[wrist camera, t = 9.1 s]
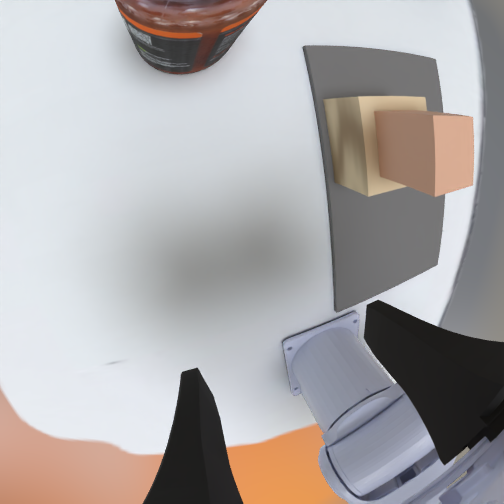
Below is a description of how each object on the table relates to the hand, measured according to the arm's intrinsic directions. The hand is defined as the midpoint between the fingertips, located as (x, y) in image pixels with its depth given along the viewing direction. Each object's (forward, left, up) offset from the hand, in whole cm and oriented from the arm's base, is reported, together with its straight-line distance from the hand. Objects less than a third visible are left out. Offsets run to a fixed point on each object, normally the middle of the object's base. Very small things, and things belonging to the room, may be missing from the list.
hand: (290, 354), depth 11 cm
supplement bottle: (+15, 0, -11) cm, 18 cm away
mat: (+2, -15, -10) cm, 18 cm away
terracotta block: (+6, -11, -6) cm, 14 cm away
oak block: (+6, -11, -10) cm, 16 cm away
